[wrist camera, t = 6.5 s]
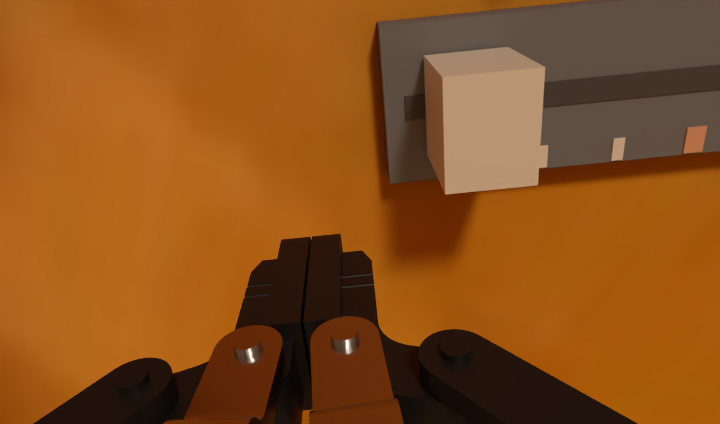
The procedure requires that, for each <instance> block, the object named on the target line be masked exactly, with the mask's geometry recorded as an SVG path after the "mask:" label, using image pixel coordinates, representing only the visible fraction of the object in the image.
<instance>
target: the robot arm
mask: <svg viewBox="0 0 720 424" xmlns="http://www.w3.org/2000/svg"><path fill="white" fill-rule="evenodd" d="M312 409H313V411H310V413H309V424H637V423H636V422H634V421H632V420H630V419H628V418H627V417H625V416H623V415H621V414H619V413H618V412H616V411H614V410H612V409H610V408H609V407H607V406H605V405H603V404H601V403H600V402H598V401H596V400H594V399H592V398H591V397H589V396H587V395H585V394H583V393H582V392H580V391H578V390H576V389H575V388H573V387H571V386H569V385H567V384H566V383H564V382H562V381H560V380H558V379H557V378H555V377H553V376H551V375H549V374H548V373H546V372H544V371H542V370H540V369H539V368H537V367H535V366H533V365H531V364H530V363H528V362H526V361H524V360H522V359H521V358H519V357H517V356H515V355H514V354H512V353H510V352H508V351H506V350H505V349H503V348H501V347H499V346H497V345H496V344H494V343H492V342H490V341H488V340H487V339H485V338H483V337H481V336H479V335H477V334H475V333H473V332H470V331H465V330H458V329H450V330H443V331H439V332H436V333H434V334H432V335H430V336H428V337H427V338H426V339H425V340H424V341H423V342H422V343H421V345H420V347H418V346H410V345H405V344H401V343H398V342H396V341H393V340H391V339H390V338H388V337H387V336H386V335H385V334H383V332H382V331H381V330H380V328H379V325H378V318H377V308H376V299H375V289H374V280H373V270H372V261H371V259H370V258H369V257H368V256H367V255H366V254H365V253H364V252H363V251H354V252H344V253H343V249H342V241H341V235H340V234H333V235H323V236H313V237H312V240H311V238H310V237H304V238H293V239H283V240H281V244H280V248H279V253H278V258H277V259H274V260H263V261H262V262H261V263H260V264H259V265H258V266H257V267H256V268H255V269H254V270H253V271H252V272H251V275H250V278H249V282H248V288H247V289H246V292H245V298H244V299H243V303H242V306H241V310H240V313H239V317H238V321H237V324H236V328H235V330H234V331H232V332H230V333H229V334H227V335H226V336H224V337H223V338H222V339H221V340H220V341H219V342H218V343H217V345H216V346H215V348H214V350H213V353H212V355H211V357H210V359H209V361H208V362H206V363H204V364H201V365H198V366H196V367H193V368H189V369H186V370H183V371H180V372H177V373H174V374H173V373H172V370H171V367H170V365H169V364H168V363H167V362H166V361H164V360H162V359H158V358H142V359H137V360H134V361H131V362H128V363H125V364H123V365H121V366H119V367H118V368H116V369H114V370H113V371H111V372H110V373H108V374H107V375H105V376H104V377H102V378H101V379H99V380H98V381H96V382H95V383H93V384H92V385H90V386H89V387H87V388H86V389H84V390H83V391H81V392H80V393H78V394H77V395H75V396H74V397H72V398H71V399H69V400H68V401H67V402H65V403H64V404H62V405H61V406H59V407H58V408H56V409H55V410H53V411H52V412H50V413H49V414H47V415H46V416H44V417H43V418H41V419H40V420H38V421H37V422H35V423H34V424H301V422H302V410H312Z"/></svg>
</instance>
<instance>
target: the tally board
mask: <svg viewBox="0 0 720 424" xmlns="http://www.w3.org/2000/svg"><path fill="white" fill-rule="evenodd" d="M377 34H378V47H379V61H380V74H381V88H382V101H383V115H384V129H385V142H386V156H387V169H388V176H389V181H390V184H394V183H404V182H414V181H424V180H434V179H438V178H437V175H436V173H435V171H434V169H433V166H432V164H431V162H430V160H429V158H428V155H427V133H426V107H425V80H424V55H432V54H442V53H452V52H462V51H472V50H482V49H492V48H502V47H509V48H511V49H513V50H515V51H516V52H518V53H520V54H522V55H524V56H526V57H528V58H529V59H531V60H533V61H535V62H537V63H539V64H541V65H542V66H544V67H545V80H544V96H543V112H542V128H541V144H540V160H539V169H545V168H555V167H565V166H575V165H585V164H595V163H605V162H615V161H625V160H635V159H645V158H655V157H665V156H675V155H685V154H695V153H706V152H716V151H720V0H590V1H580V2H571V3H561V4H551V5H541V6H531V7H521V8H511V9H502V10H492V11H482V12H472V13H462V14H452V15H442V16H433V17H423V18H413V19H403V20H393V21H383V22H377Z"/></svg>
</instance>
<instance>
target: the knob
mask: <svg viewBox="0 0 720 424" xmlns="http://www.w3.org/2000/svg"><path fill="white" fill-rule="evenodd" d="M424 80H425V107H426V133H427V155H428V158H429V160H430V162H431V164H432V166H433V169H434V171H435V173H436V175H437V178H438V180H439V182H440V184H441V186H442V189H443V191H444V193H445V194H455V193H465V192H475V191H485V190H495V189H505V188H515V187H526V186H536V185H538V176H539V160H540V144H541V128H542V112H543V96H544V80H545V67H544V66H542V65H541V64H539V63H537V62H535V61H533V60H531V59H529V58H528V57H526V56H524V55H522V54H520V53H518V52H516V51H515V50H513V49H511V48H509V47H502V48H492V49H482V50H472V51H462V52H452V53H442V54H432V55H424Z"/></svg>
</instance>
